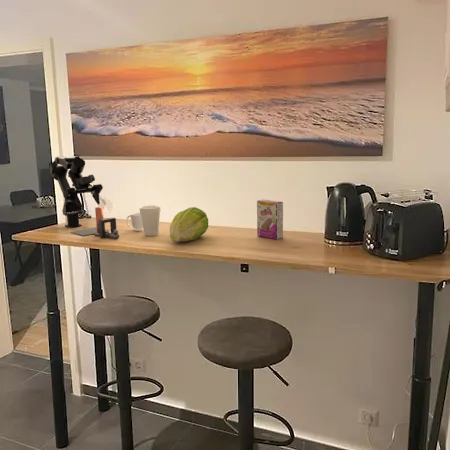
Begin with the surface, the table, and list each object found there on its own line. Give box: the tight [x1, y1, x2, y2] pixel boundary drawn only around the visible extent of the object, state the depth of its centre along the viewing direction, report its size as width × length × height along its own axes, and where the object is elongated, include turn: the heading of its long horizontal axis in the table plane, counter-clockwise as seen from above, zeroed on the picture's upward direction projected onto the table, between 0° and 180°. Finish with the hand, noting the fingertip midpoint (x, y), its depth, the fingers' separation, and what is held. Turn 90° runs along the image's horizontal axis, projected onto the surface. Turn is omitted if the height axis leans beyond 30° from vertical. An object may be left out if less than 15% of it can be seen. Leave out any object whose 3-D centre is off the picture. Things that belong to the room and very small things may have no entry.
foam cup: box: [139, 204, 161, 237], centre depth 226 cm, size 10×9×13 cm
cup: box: [126, 212, 144, 232], centre depth 237 cm, size 7×10×8 cm
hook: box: [93, 206, 120, 240], centre depth 224 cm, size 17×6×13 cm, turn 45°
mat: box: [70, 226, 110, 237], centre depth 236 cm, size 12×14×1 cm
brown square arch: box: [98, 217, 117, 239], centre depth 223 cm, size 2×8×8 cm, turn 135°
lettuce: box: [169, 206, 209, 242], centre depth 213 cm, size 14×24×15 cm
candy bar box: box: [256, 198, 284, 241], centre depth 214 cm, size 11×5×16 cm, turn 47°
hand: (90, 205), depth 232 cm, fingers open, 9 cm apart
